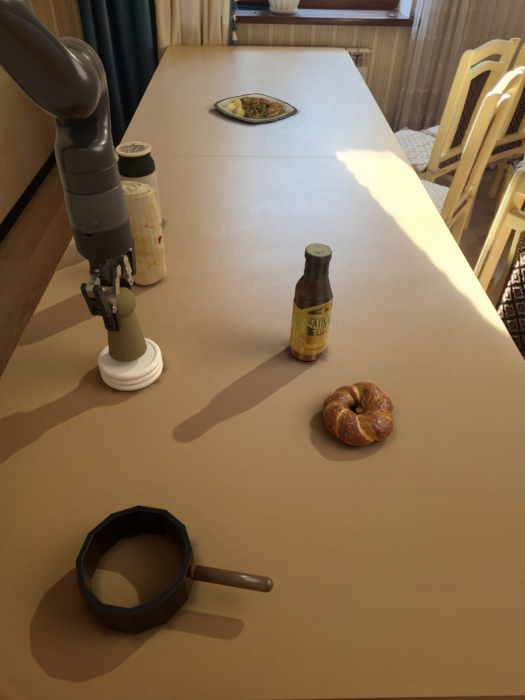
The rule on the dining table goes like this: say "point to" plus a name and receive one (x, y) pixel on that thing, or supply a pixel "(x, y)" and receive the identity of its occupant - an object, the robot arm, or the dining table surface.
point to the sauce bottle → (312, 305)
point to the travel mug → (137, 165)
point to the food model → (145, 232)
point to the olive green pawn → (126, 330)
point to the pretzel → (358, 414)
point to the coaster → (131, 369)
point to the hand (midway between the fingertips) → (120, 317)
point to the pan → (175, 595)
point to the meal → (255, 108)
